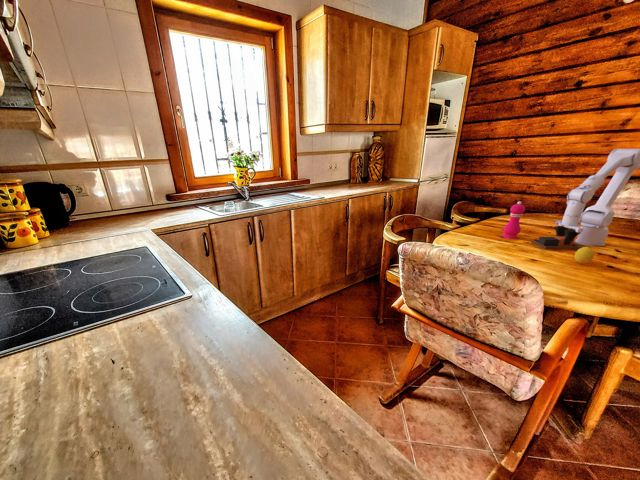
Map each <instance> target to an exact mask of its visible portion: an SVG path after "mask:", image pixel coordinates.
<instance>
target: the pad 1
mask: <svg viewBox="0 0 640 480" xmlns="http://www.w3.org/2000/svg"><path fill="white" fill-rule="evenodd" d="M537 240H538V242H539V243H541V244H543V245H545V246H558V243H559V239H557V238H554V236H539V237H538V239H537Z"/></svg>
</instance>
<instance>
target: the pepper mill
mask: <svg viewBox="0 0 640 480" xmlns="http://www.w3.org/2000/svg"><path fill="white" fill-rule="evenodd" d="M509 211H510V215H509V216H510V218H509V221H508V222H507V223H506V224H505V226H504V227H503V230H502V231H503V235H502V238H504V239H507V240H517V239H518V237H519V236H518V234H520V233H521V225H520V220H521V218H522V217H523V214H524V212H525V211H526V207H525V205H524V204H523V203H522V201H521V200H519V201H517V202H516V204H513V205H512V206H511V207H510V210H509Z"/></svg>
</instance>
